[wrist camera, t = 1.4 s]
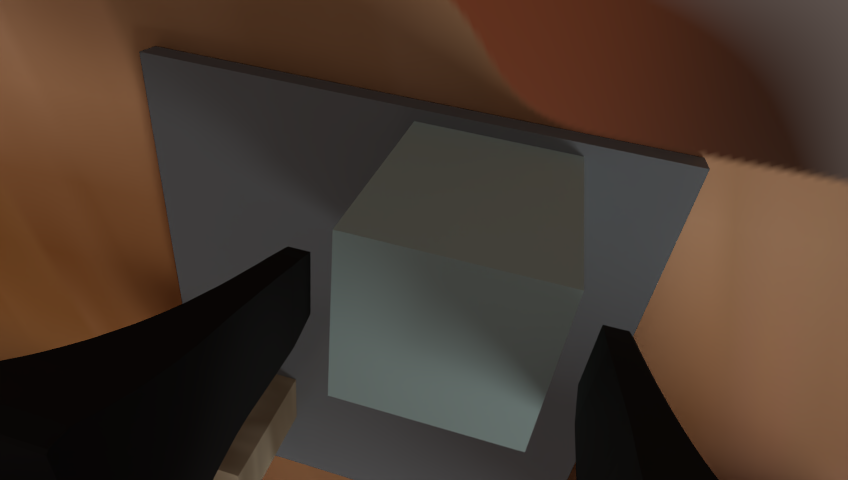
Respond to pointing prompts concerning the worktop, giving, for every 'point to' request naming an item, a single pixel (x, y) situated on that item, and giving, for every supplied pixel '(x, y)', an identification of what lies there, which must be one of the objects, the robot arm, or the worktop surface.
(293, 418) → the post
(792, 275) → the worktop surface
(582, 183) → the pale green cube
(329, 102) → the board
